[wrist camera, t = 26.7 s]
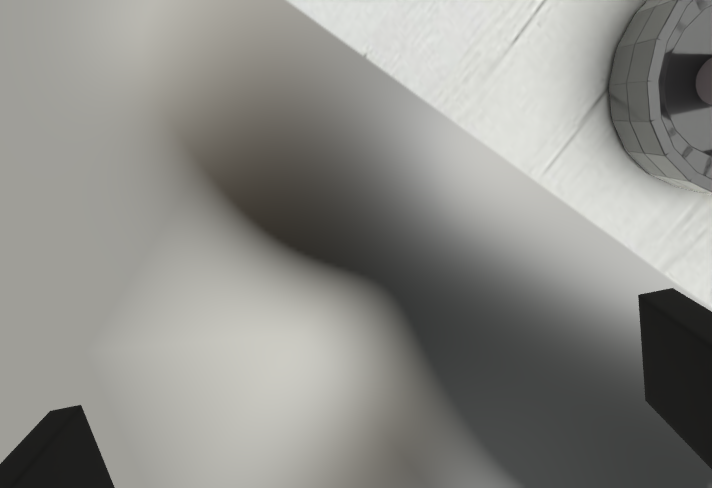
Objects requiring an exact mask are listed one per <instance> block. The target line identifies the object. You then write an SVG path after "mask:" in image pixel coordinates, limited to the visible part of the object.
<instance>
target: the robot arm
mask: <svg viewBox="0 0 712 488" xmlns="http://www.w3.org/2000/svg"><path fill="white" fill-rule="evenodd" d="M638 297H639V311H640V326H641V341H642V355H643V370H644V385H645V399H646V401H647V402H648V403H649V405H651V406H652V408H653V409H654V410H655V411H656V412H657V413H658V414H659V415H660V416H661V417H662V418H663V419H664V420H665V421H666V422H667V423H668V424H669V425H670V426H671V427H672V428H673V429H674V430H675V432H676V433H677V434H678V435H679V436H680V437H681V438H682V439H683V440H684V441H685V442H686V443H687V444H688V445H689V446H690V447H691V448H692V449H693V450H694V451H695V452H696V453H697V454H698V455H699V456H700V458H701V459H702V460H703V461H704V462H705V463H706V464H707V465H708V466H709V467H710V468H711V469H712V312H711V311H710V310H708V309H706V308H705V307H703V306H701V305H700V304H698V303H696V302H695V301H693V300H691V299H690V298H688V297H686V296H685V295H683V294H681V293H680V292H678V291H676V290H675V289H673V288H671V289H666V290H661V291H656V292H651V293H646V294H640V295H638ZM0 488H114V485H113V483H112V480H111V478H110V475H109V473H108V470H107V468H106V465H105V463H104V461H103V458H102V456H101V453H100V451H99V448H98V446H97V443H96V441H95V438H94V436H93V434H92V431H91V429H90V426H89V424H88V421H87V419H86V416H85V414H84V411H83V409H82V406H81V405H78V406H73V407H68V408H63V409H58V410H53V411H50V412H49V413H48V414H47V415H46V416H45V417H44V418H43V419H42V420H41V421H40V422H39V424H37V426H36V427H35V428H34V429H33V430H32V431H31V432H30V433H29V434H28V435H27V436H26V437H25V438H24V440H22V442H21V443H20V444H19V445H18V446H17V447H16V448H15V449H14V450H13V451H12V452H11V453H10V454H9V455H8V456H7V457H6V459H5V460H4V461H3V462H2V463H1V464H0Z"/></svg>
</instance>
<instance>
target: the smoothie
mask: <svg viewBox="0 0 712 488" xmlns="http://www.w3.org/2000/svg"><path fill="white" fill-rule="evenodd" d="M696 90H697V93H698V95H699V97H700V98H701V99H702V100H703V101H704V102H706V103H708V104H710V105H712V58H710V59H709V60H707V61H706V62H705V63H704V64H703V65H702V67H701V68H700V70H699V72H698V74H697V77H696Z"/></svg>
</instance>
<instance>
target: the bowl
mask: <svg viewBox="0 0 712 488" xmlns="http://www.w3.org/2000/svg"><path fill="white" fill-rule="evenodd" d="M710 58H712V0H648V1H647V2H646V3H645V4H644V5H643V6H642V7H641V8H640V9H639V10H638V11H637V12H636V13H635V15H634V17H633V18H632V20H631V22H630V24H629V26H628V28H627V30H626V32H625V34H624V35H623V37H622V39H621V41H620V43H619V45H618V47H617V49H616V53H615V58H614V63H613V68H612V72H611V77H610V82H609V94H610V105H611V115H612V120H613V124H614V126H615V128H616V130H617V132H618V135H619V137H620V139H621V141H622V144H623V146H624V148H625V150H626V151H627V153H628V154H629V155H630V156H631V157H632V158H633V159H634V160H635V161H636V162H637V163H638V164H639V165H640V166H641V167H642V168H643V169H644V170H645V171H646V172H647V173H648V174H650V175H652V176H654V177H656V178H658V179H660V180H662V181H665V182H667V183H669V184H671V185H673V186H675V187H678V188H683V189H687V190H692V191H696V192H701V193H705V194H710V195H712V105H710V104H708V103H706V102H704V101H703V100H702V99H701V98H700V97H699V95H698V93H697V90H696V77H697V74H698V72H699V70H700V68H701V67H702V65H703V64H704V63H705V62H706V61H707V60H709V59H710Z"/></svg>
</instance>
